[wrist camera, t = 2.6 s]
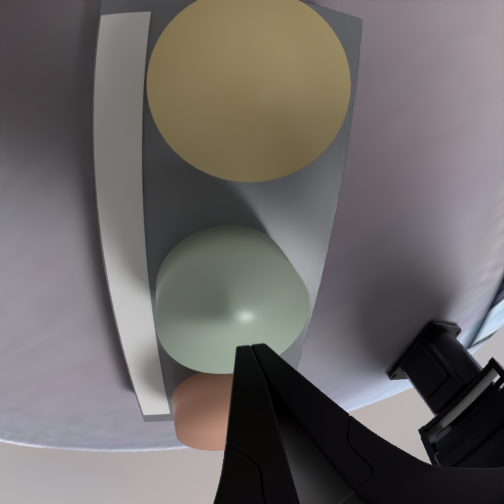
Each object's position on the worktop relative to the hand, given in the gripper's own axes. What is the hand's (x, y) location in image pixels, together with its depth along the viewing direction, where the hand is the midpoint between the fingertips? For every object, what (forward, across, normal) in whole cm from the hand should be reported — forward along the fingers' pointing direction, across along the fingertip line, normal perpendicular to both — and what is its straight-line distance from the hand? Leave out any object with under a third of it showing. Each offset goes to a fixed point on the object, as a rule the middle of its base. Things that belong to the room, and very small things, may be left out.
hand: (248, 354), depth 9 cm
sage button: (+3, 0, 0) cm, 3 cm away
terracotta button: (+3, 0, +7) cm, 8 cm away
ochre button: (+3, 0, -7) cm, 8 cm away
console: (+6, 0, 0) cm, 6 cm away
